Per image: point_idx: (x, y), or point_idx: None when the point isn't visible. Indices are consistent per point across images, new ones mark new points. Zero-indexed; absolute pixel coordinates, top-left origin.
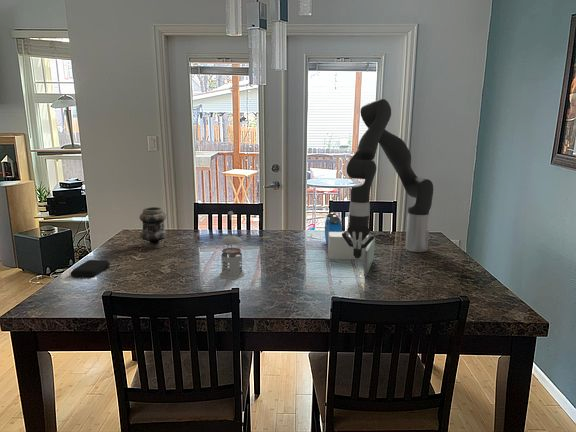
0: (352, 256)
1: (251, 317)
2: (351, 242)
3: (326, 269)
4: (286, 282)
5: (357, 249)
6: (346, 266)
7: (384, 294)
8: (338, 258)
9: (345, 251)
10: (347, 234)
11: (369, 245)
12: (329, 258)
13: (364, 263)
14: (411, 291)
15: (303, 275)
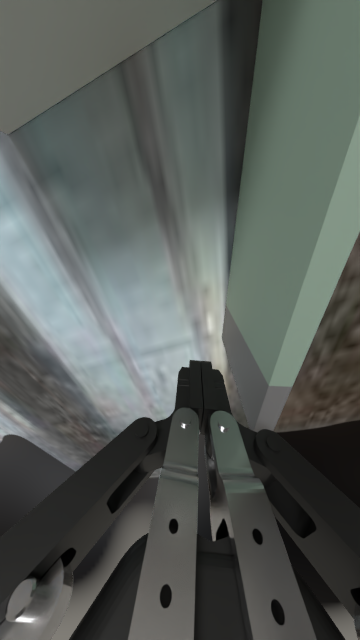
0: (116, 33)
1: None
2: (140, 462)
3: (84, 301)
4: (56, 404)
5: (202, 432)
6: (137, 236)
7: None
8: (46, 103)
9: (38, 17)
10: (44, 631)
11: (317, 302)
12: (6, 131)
13: (233, 371)
14: (354, 389)
15: (58, 364)
